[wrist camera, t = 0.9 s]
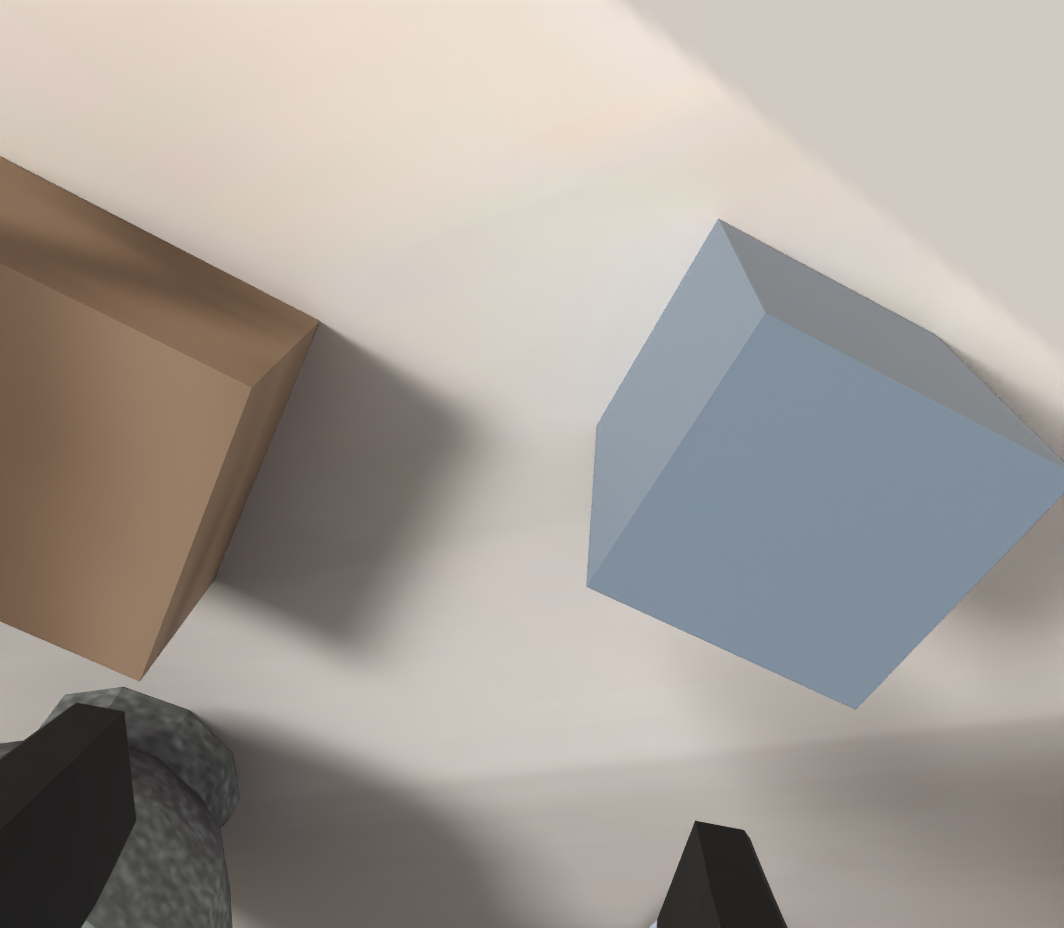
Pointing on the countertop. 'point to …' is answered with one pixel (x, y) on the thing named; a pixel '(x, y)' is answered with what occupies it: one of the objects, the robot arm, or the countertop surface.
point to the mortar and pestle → (167, 818)
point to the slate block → (804, 473)
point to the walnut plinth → (124, 421)
